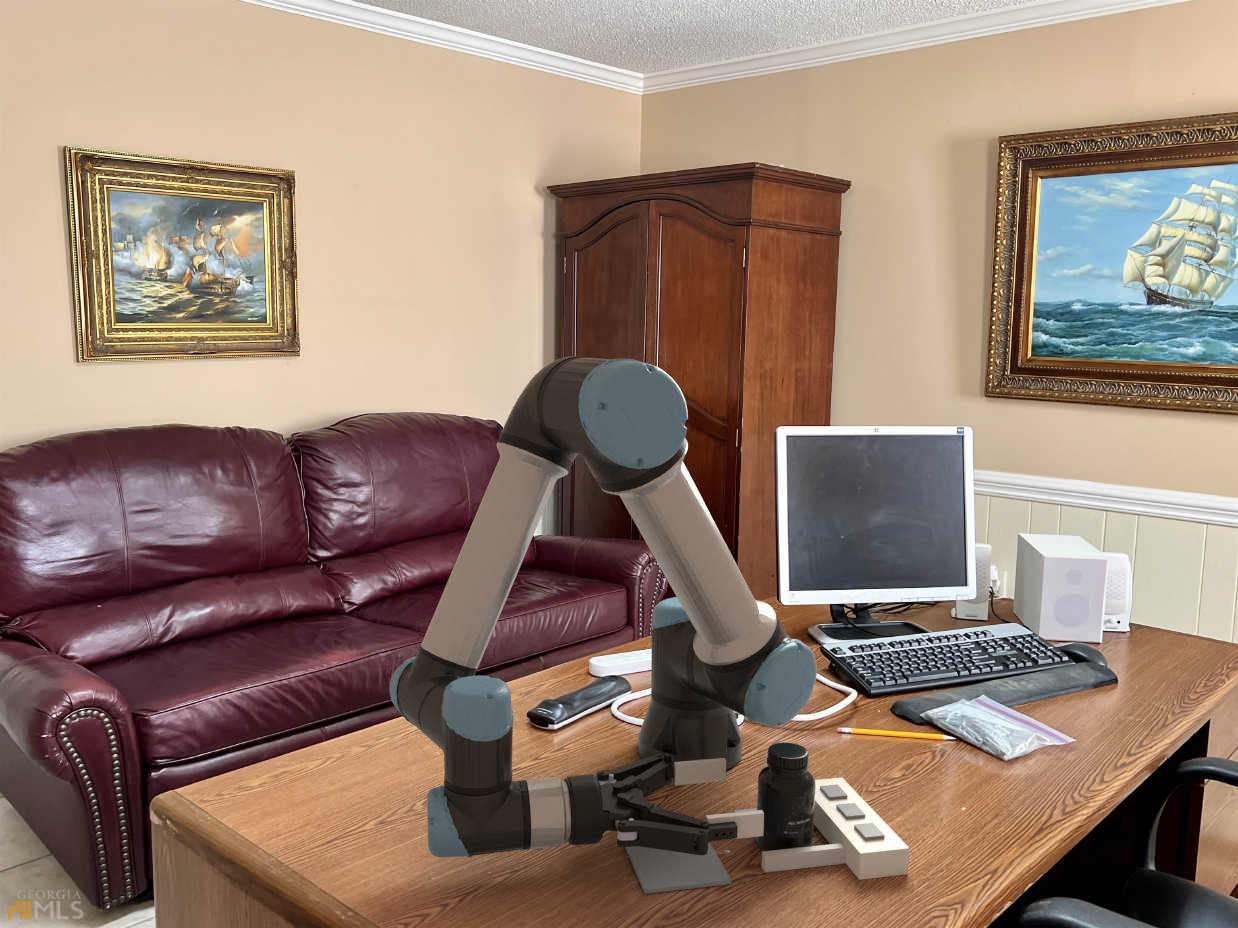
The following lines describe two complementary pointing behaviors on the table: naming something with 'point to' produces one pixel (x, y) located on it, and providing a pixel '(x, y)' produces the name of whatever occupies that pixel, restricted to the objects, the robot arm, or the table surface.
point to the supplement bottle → (786, 798)
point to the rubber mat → (676, 869)
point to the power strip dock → (844, 837)
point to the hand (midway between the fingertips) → (743, 794)
